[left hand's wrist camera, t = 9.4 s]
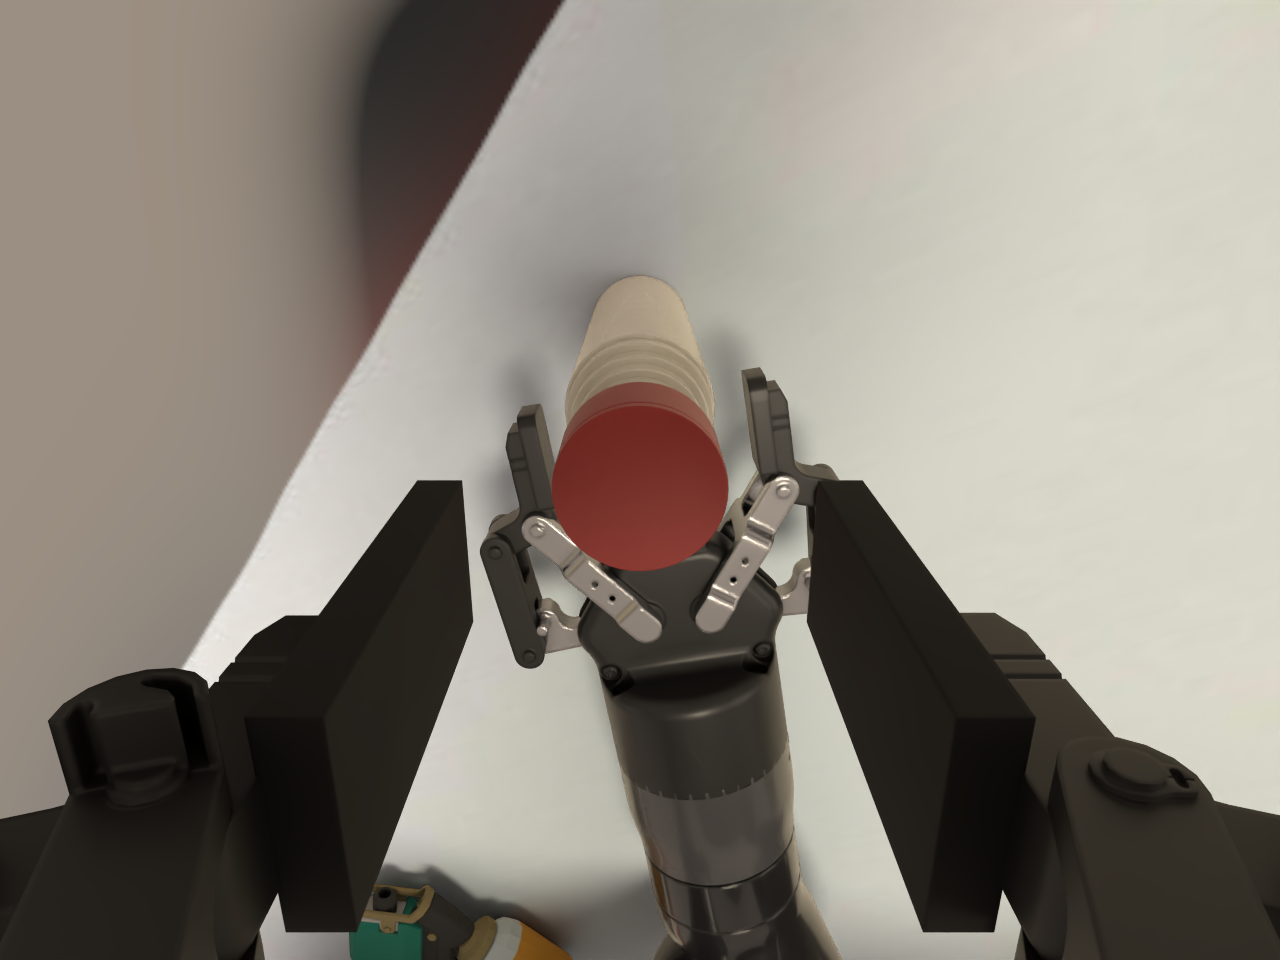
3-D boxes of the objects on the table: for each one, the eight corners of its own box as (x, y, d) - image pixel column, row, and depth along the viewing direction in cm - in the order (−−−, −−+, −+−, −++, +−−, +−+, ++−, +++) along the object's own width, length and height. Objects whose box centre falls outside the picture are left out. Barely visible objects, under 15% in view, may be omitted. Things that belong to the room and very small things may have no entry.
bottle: (693, 280, 36) (754, 399, 17) (681, 375, 37) (724, 583, 18) (596, 270, 36) (547, 378, 17) (588, 365, 37) (534, 565, 18)
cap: (730, 389, 19) (740, 415, 17) (707, 538, 20) (715, 579, 18) (567, 372, 19) (557, 397, 16) (555, 523, 20) (545, 563, 18)
